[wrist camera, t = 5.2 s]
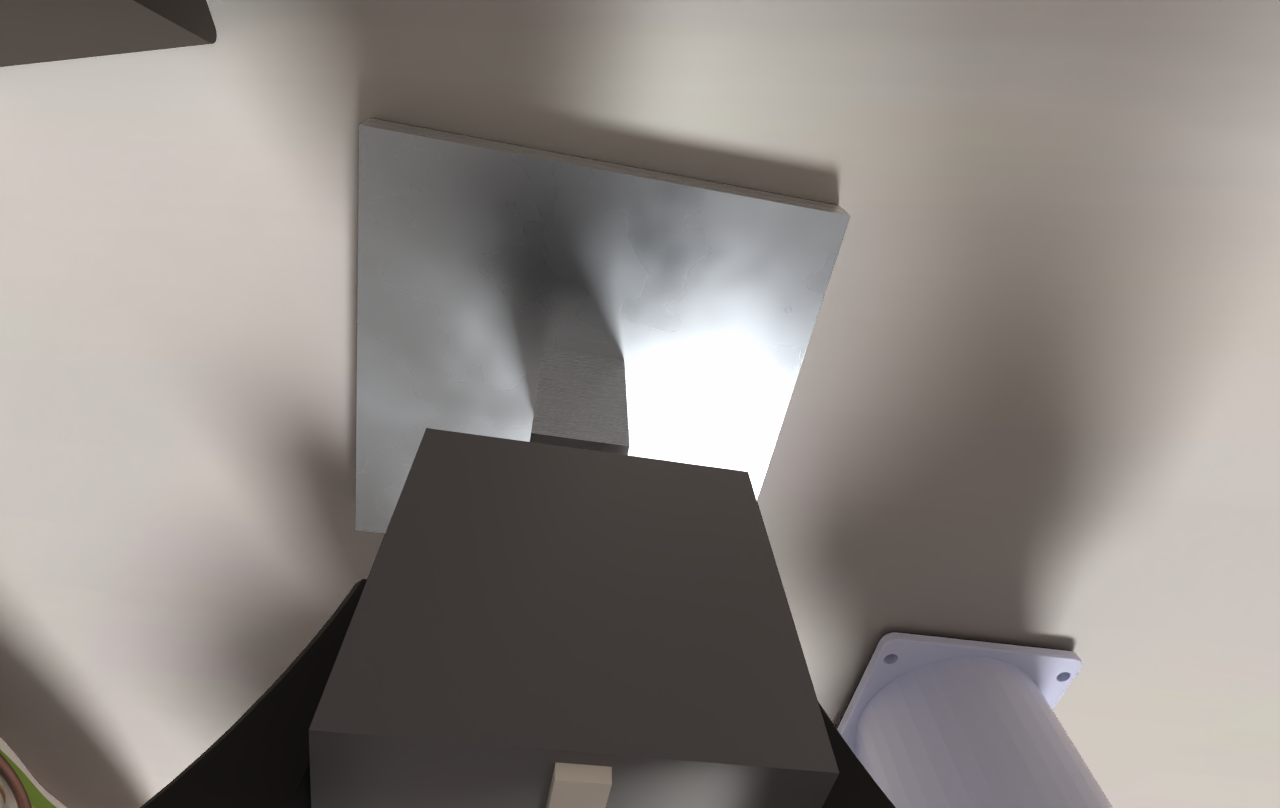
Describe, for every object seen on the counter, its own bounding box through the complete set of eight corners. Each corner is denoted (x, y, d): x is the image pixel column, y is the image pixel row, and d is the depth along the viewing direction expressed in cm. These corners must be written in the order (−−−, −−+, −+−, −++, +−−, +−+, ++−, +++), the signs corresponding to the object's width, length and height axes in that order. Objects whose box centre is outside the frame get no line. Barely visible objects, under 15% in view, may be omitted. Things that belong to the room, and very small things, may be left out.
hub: (727, 553, 25) (756, 683, 21) (364, 510, 24) (306, 640, 19) (839, 205, 20) (914, 275, 15) (370, 117, 18) (290, 165, 13)
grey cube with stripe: (680, 686, 16) (719, 1030, 11) (411, 660, 15) (313, 1017, 10) (748, 471, 13) (844, 790, 8) (425, 427, 12) (302, 747, 7)
